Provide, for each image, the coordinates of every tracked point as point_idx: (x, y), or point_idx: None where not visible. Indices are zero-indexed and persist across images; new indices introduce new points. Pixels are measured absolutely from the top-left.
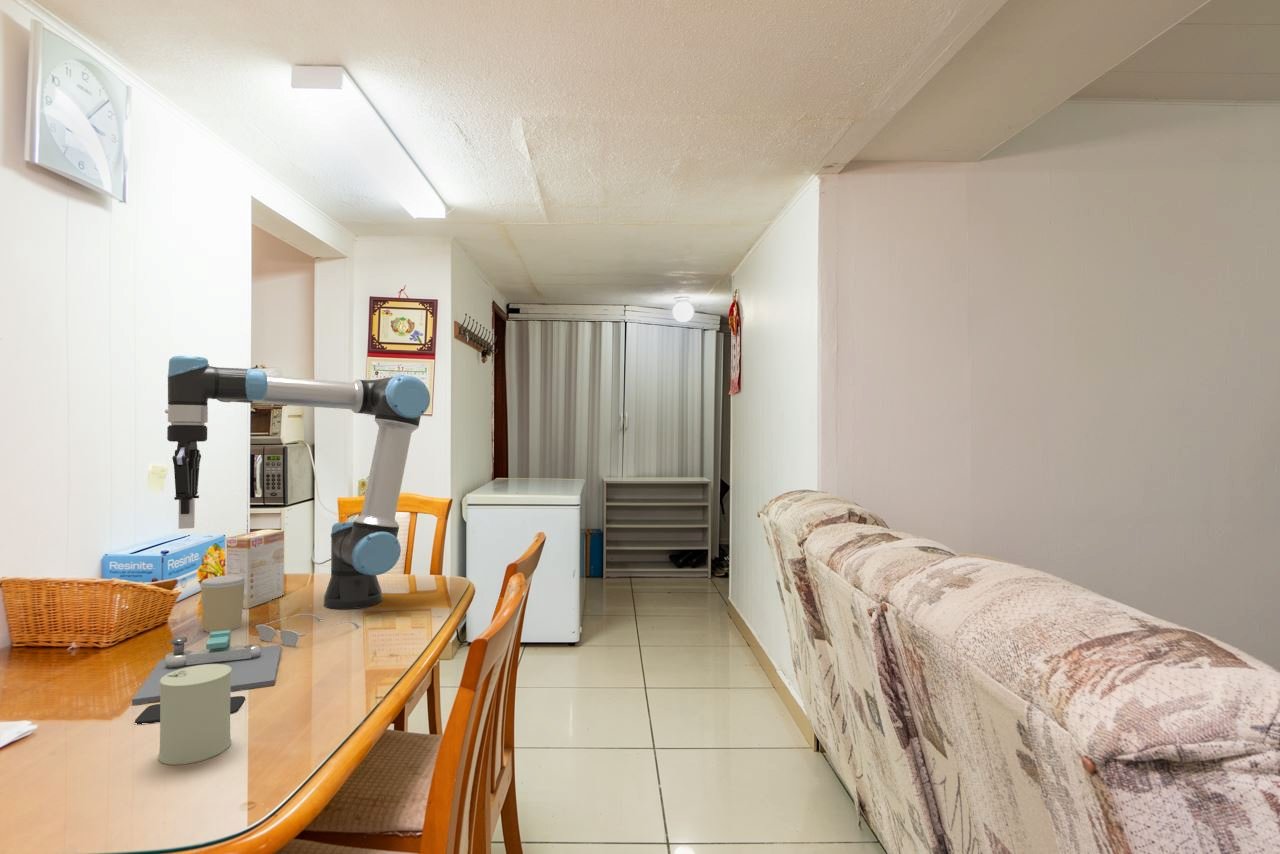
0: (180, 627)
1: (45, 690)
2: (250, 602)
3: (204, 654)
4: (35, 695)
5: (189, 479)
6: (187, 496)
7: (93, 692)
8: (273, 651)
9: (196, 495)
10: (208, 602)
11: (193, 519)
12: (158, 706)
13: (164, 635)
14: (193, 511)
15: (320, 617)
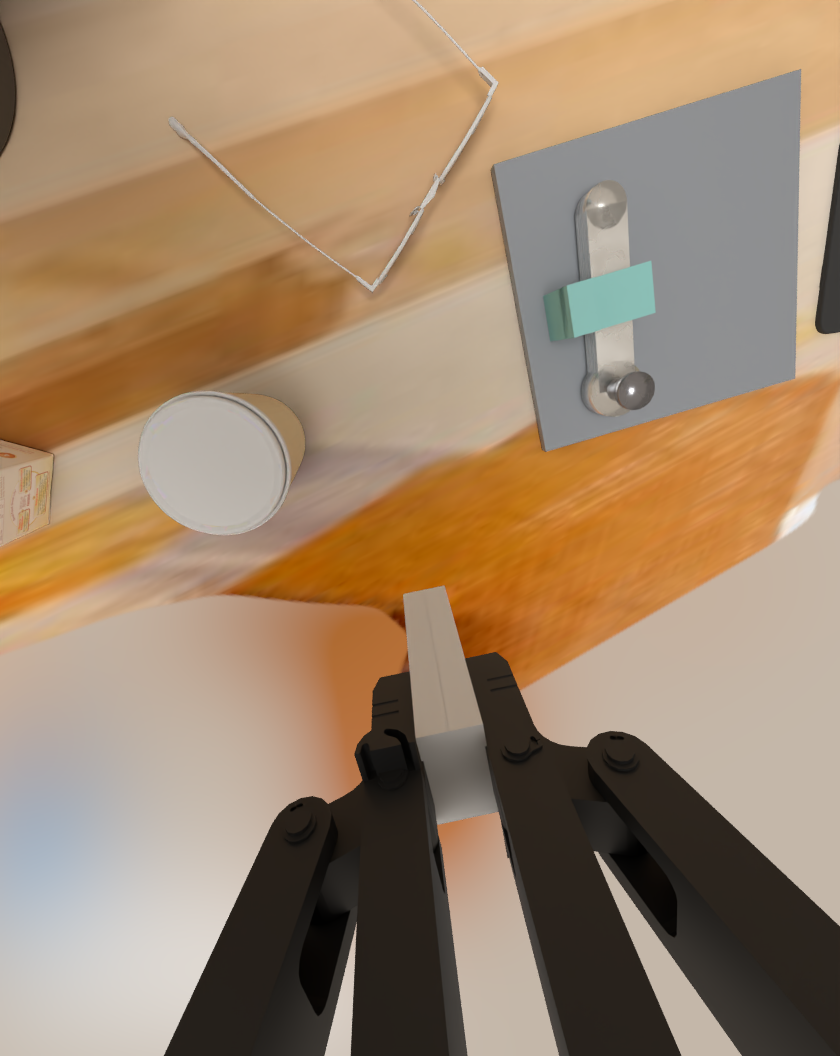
0: (253, 549)
1: (644, 576)
2: (28, 453)
3: (631, 323)
4: (665, 576)
5: (656, 1017)
6: (634, 745)
7: (684, 489)
8: (554, 167)
9: (363, 772)
10: (294, 474)
11: (432, 617)
12: (834, 311)
13: (322, 551)
14: (440, 652)
15: (176, 124)
